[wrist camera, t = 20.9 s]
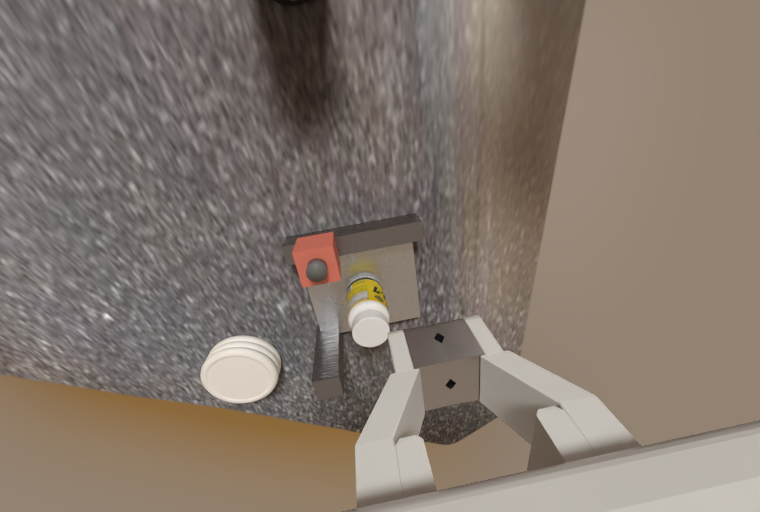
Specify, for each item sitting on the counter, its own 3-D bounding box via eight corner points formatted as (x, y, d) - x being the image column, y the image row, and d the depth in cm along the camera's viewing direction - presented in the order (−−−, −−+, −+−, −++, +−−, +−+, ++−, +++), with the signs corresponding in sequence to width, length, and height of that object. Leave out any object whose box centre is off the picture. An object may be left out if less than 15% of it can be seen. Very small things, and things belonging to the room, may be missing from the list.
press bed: (415, 213, 35) (441, 244, 26) (425, 319, 43) (448, 372, 34) (286, 237, 35) (268, 277, 26) (319, 341, 42) (313, 401, 33)
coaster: (233, 322, 39) (224, 339, 36) (295, 354, 43) (292, 372, 40) (196, 367, 41) (184, 387, 38) (257, 393, 45) (251, 414, 42)
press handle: (333, 231, 32) (332, 250, 27) (340, 263, 33) (341, 286, 29) (297, 238, 31) (290, 258, 27) (306, 269, 33) (301, 294, 28)
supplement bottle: (388, 296, 38) (400, 339, 31) (357, 311, 39) (361, 357, 31) (372, 268, 36) (381, 307, 29) (339, 284, 37) (340, 327, 29)
